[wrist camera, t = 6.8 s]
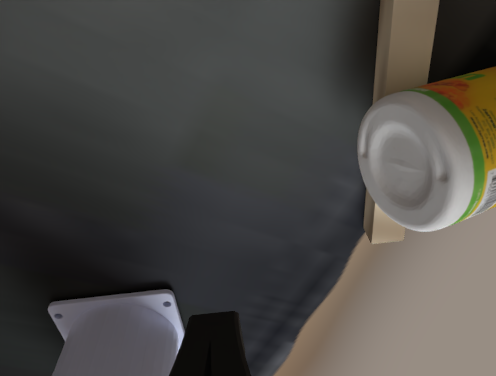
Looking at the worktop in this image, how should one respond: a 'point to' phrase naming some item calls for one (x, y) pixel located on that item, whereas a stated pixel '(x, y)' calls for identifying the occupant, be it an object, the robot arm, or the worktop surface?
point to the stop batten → (399, 79)
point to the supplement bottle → (432, 151)
